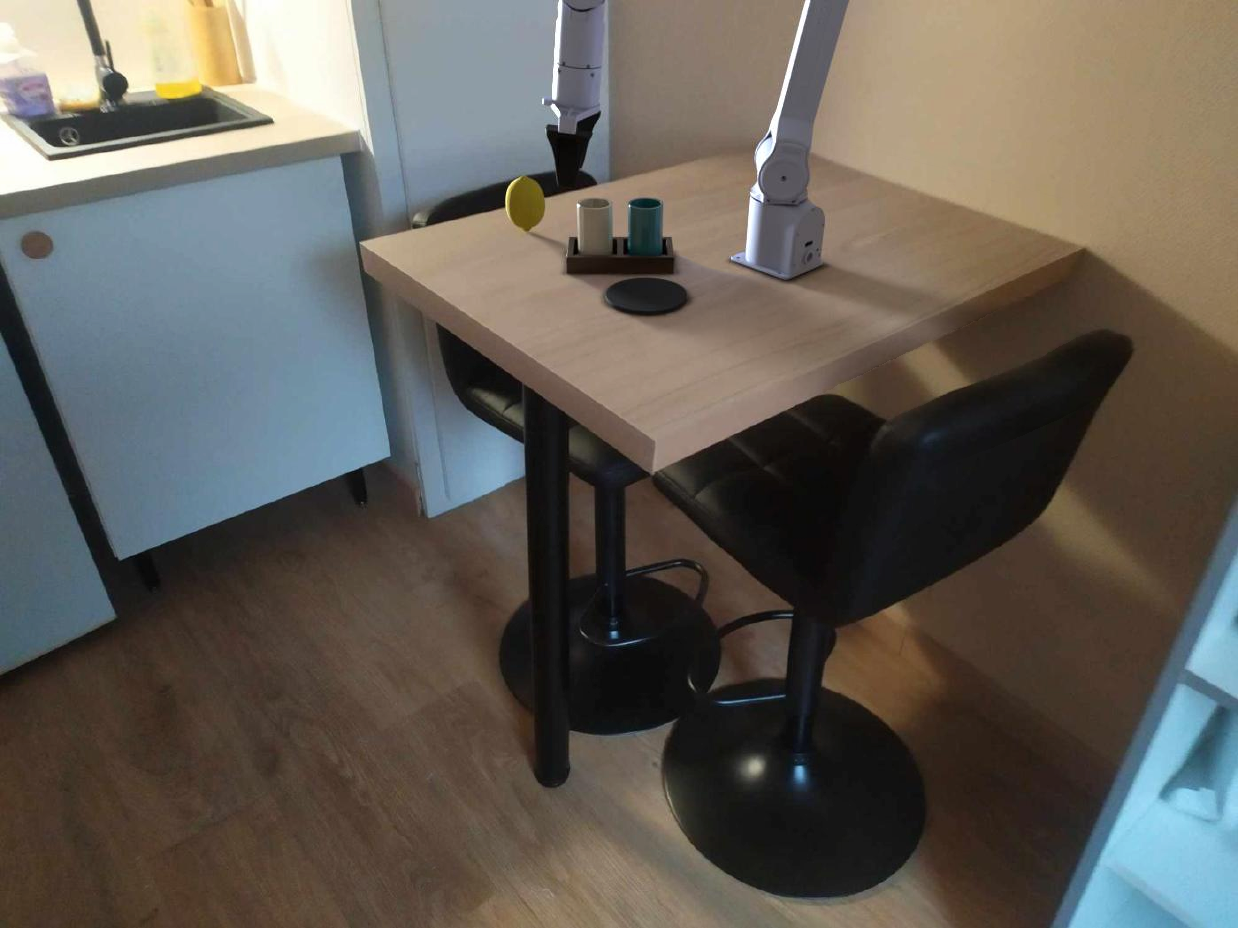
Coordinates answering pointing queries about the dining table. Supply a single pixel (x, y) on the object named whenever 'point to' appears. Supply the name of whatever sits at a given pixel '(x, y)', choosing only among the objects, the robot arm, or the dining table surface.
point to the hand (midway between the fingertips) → (570, 176)
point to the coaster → (646, 296)
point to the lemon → (525, 203)
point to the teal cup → (645, 226)
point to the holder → (620, 259)
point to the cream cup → (595, 226)
